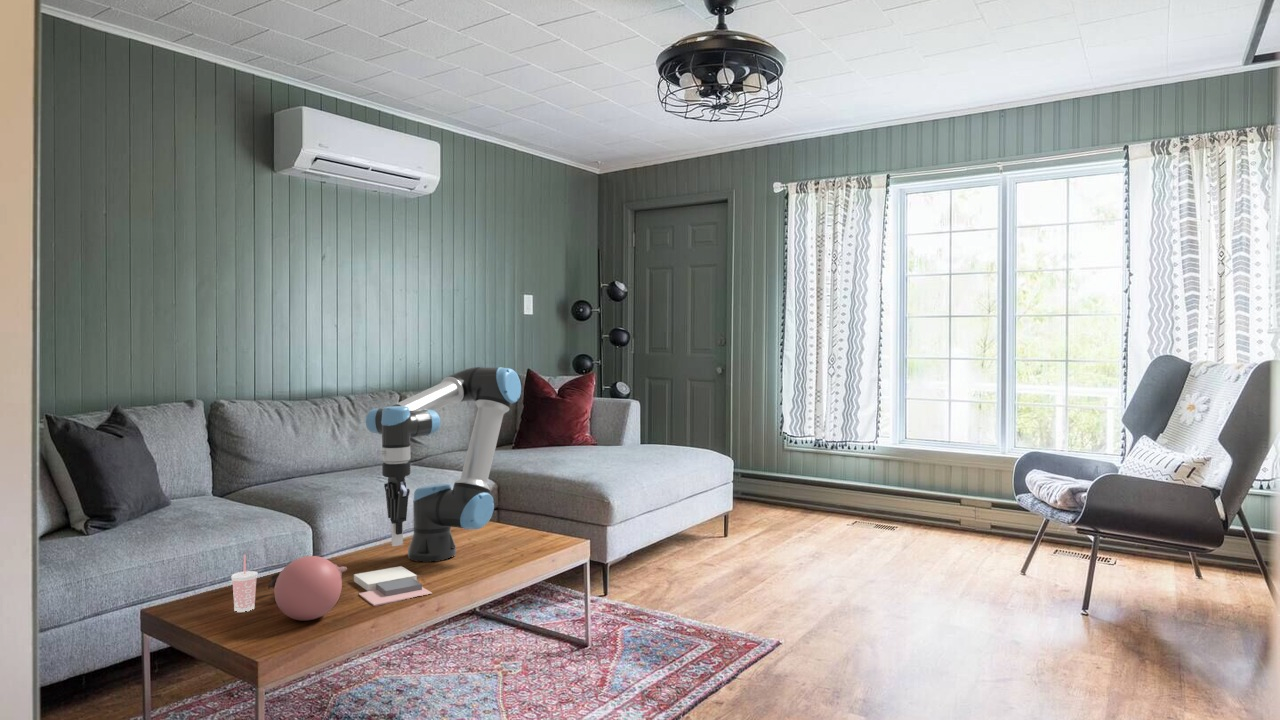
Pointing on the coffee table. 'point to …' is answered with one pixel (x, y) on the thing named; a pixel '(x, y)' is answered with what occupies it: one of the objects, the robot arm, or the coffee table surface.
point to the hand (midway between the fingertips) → (397, 544)
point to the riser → (382, 577)
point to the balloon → (308, 587)
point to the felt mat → (380, 599)
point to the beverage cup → (244, 589)
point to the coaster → (398, 586)
